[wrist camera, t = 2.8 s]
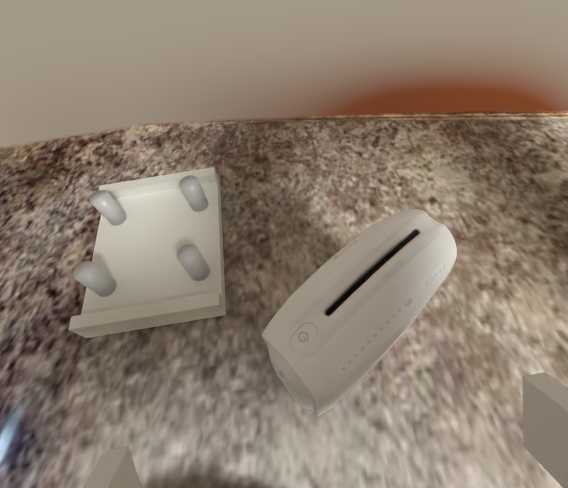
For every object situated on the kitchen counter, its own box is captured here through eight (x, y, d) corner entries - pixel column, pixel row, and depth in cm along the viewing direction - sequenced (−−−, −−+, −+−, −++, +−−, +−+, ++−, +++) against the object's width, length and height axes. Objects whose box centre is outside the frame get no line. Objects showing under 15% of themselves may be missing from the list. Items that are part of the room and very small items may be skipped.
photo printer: (315, 429, 21) (313, 413, 10) (272, 376, 23) (233, 317, 12) (417, 322, 24) (496, 226, 13) (372, 283, 26) (409, 172, 15)
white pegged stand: (226, 315, 25) (211, 293, 22) (86, 338, 25) (48, 320, 22) (220, 182, 33) (208, 150, 29) (112, 200, 33) (87, 170, 29)
